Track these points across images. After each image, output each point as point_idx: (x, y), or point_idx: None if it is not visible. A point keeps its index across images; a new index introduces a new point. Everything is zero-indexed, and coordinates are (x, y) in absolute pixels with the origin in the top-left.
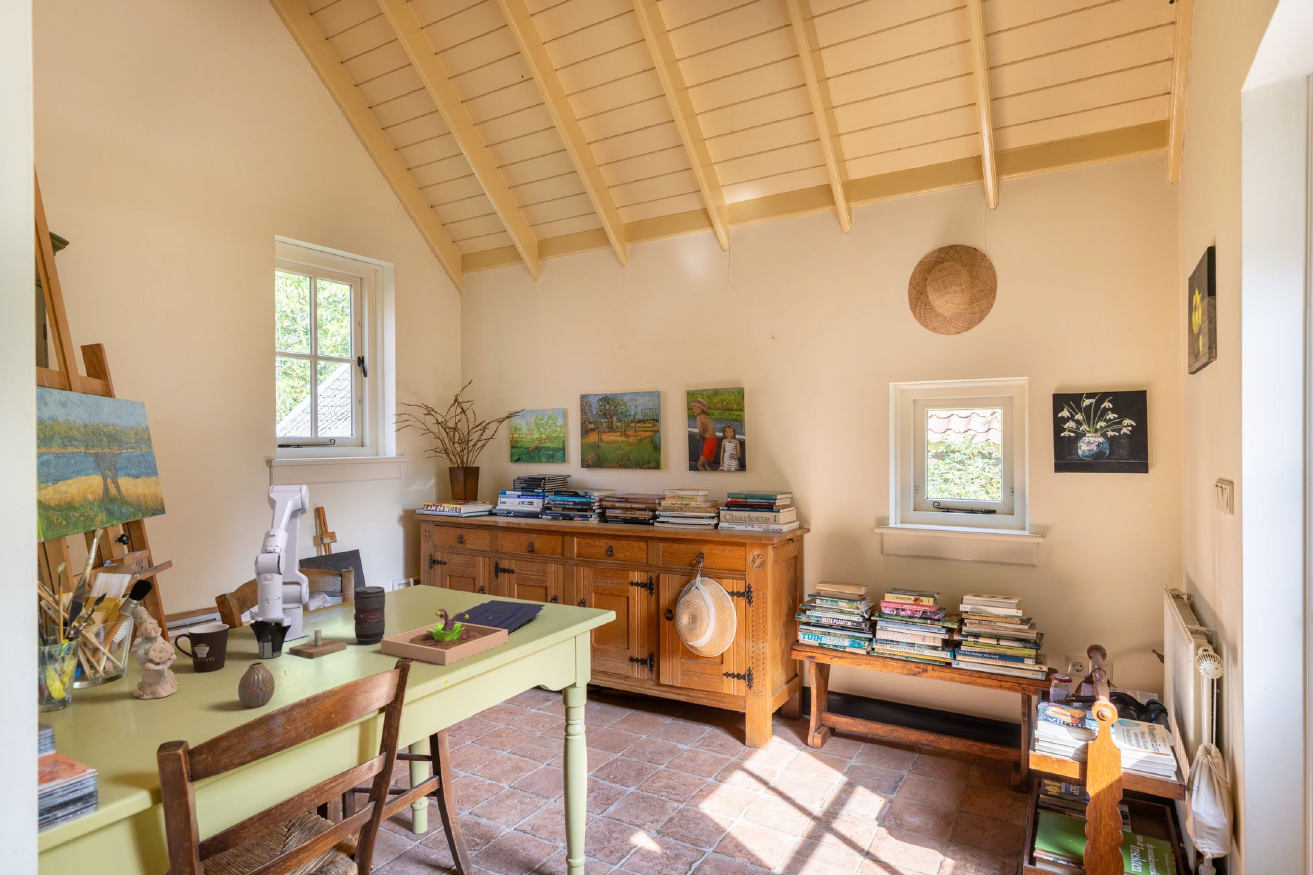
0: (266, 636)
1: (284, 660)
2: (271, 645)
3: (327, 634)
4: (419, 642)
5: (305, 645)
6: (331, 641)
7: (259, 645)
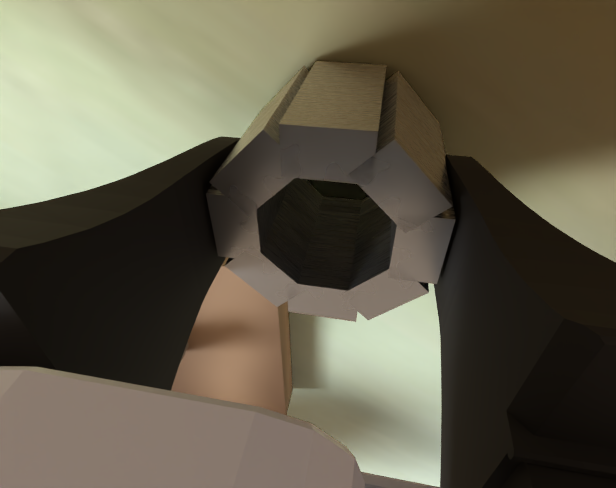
0: (448, 290)
1: (129, 115)
2: (211, 155)
3: (417, 471)
4: None
5: (232, 326)
6: (194, 392)
7: (366, 112)
